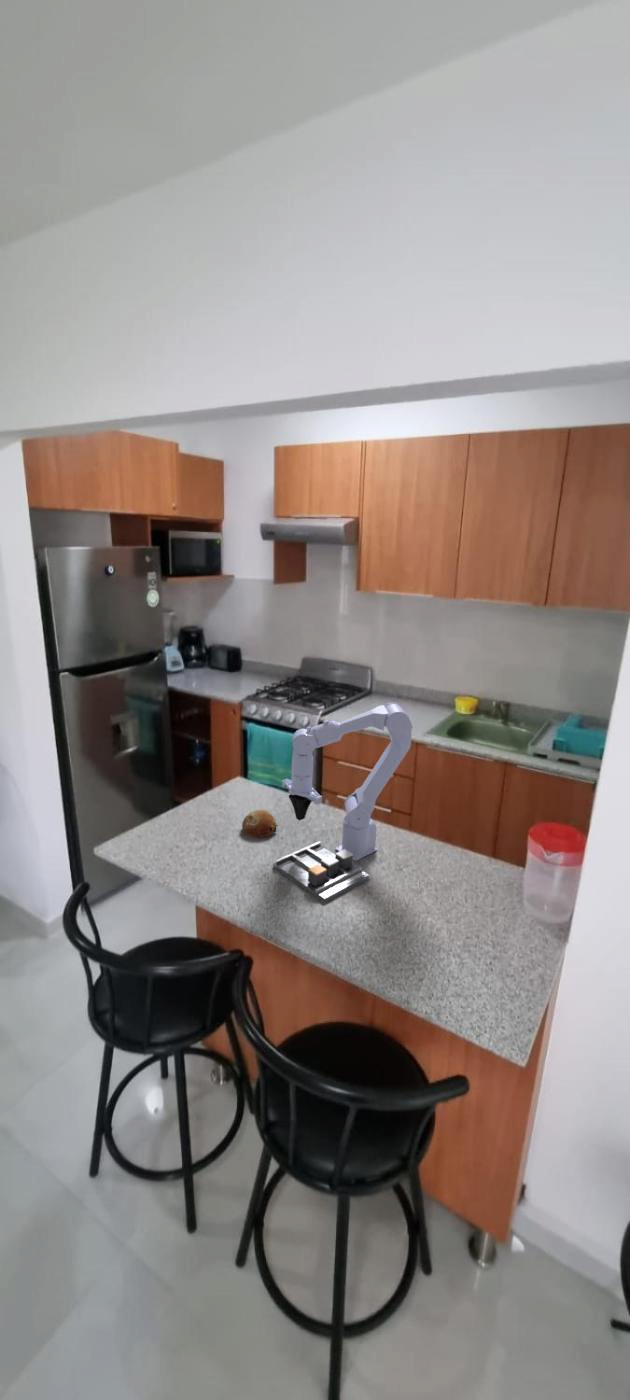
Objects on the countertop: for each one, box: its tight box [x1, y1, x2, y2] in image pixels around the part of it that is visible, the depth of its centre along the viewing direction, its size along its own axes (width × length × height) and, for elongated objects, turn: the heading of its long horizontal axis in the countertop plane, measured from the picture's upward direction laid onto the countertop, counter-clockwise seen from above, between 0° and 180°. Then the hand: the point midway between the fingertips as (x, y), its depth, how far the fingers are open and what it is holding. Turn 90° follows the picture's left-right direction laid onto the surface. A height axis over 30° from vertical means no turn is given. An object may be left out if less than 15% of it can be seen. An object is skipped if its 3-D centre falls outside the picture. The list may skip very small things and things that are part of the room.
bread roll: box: [241, 809, 279, 839], centre depth 168 cm, size 10×10×8 cm
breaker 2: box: [335, 849, 353, 870], centre depth 148 cm, size 3×3×4 cm
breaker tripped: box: [308, 864, 327, 887], centre depth 140 cm, size 3×3×4 cm
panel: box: [272, 841, 370, 904], centre depth 147 cm, size 16×20×2 cm
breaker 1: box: [321, 856, 339, 877], centre depth 145 cm, size 3×3×4 cm
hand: (300, 818), depth 155 cm, fingers closed
